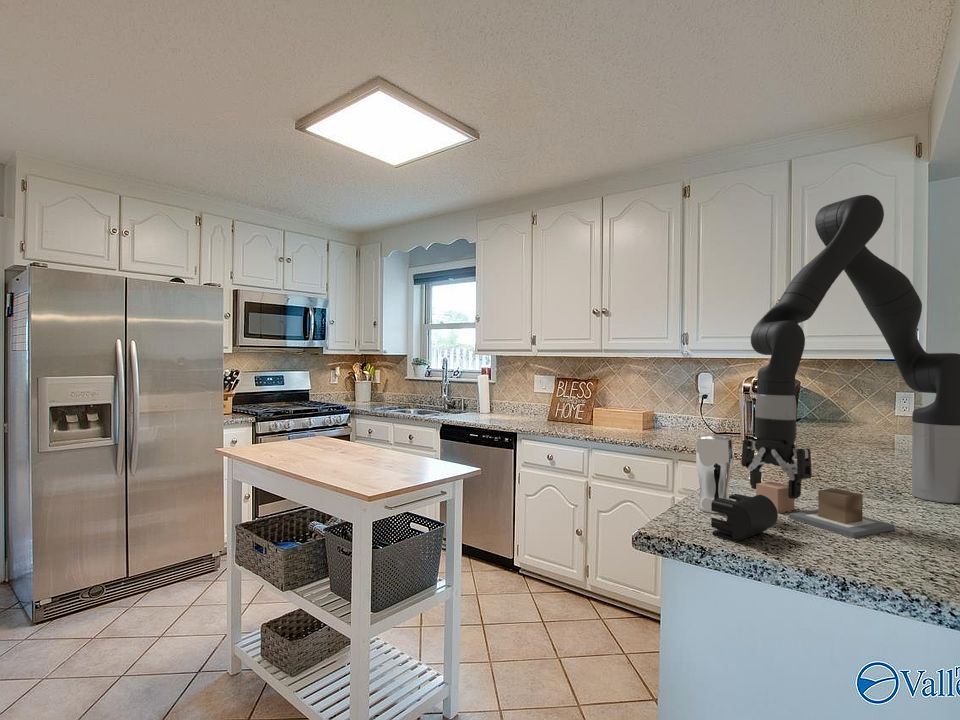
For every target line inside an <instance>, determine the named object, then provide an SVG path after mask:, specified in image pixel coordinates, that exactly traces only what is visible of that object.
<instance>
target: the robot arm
mask: <svg viewBox="0 0 960 720" xmlns="http://www.w3.org/2000/svg"><path fill="white" fill-rule="evenodd" d="M884 211H885V210H884V206H883V205H882V202H881V201H880V200H879V199H878V198H877V197H875V195H874V196H873V195H872V194H871V195H870V194H860V195H856V196H852V197H849V198H846V199H843V200H839V201H836V202H833V203H829V204H827V205H824V206H823V207H821V208H820V209H819V210H818V212H816V213H817V214H816V215H815V218H814V222H815V223H814V225H815V229H816V232H817V236H818V237H819V239H820V241H821V242H822V243H823V244H824V246H825V247H824V249H823V250H821V251H820V252H819V253H818V254H817V255H816V256H815V257H814V258H813V259H811V260H809V262H808V263H807V264H805V266H804V267H802V268H801V269H800V270H799V271H798V272H797V273H796V275H794V277H793V278H792V279H791V281H790V283H789V284H788V285H787V287H786V289H785V291H784V292H783V294H782V295H781V297H780V298H779V301H778V302H776V304H774V305H773V307H771V308H770V309H769V310H768V311H767V312H766V313H765V314H764V315H763V316H762V317H761V318H760V320H758V322H757V323H756V325H755V326H754V327H753V330H752V332H751V334H750V345H751V347H752V349H753V350H754V351H755V352H756V353H758V354H760V355H763V356H770V360H769V363H768V364H767V365H766V366H763V367H761V368H760V369H758V372H757V376H756V377H757V378H756V398H755V399H756V400H755V404H754V406H755V407H754V408H755V409H754V411H755V412H754V436H755V437H756V440H755V439H743V441H742V447H741V448H742V449H741V462H740V463H741V466H742V467H745V468H747V469H748V471H749V485H750V486H751V489H752V490H756V484H757V483H762V471H761V470H762V468H763V467H764V466H765V465H767V464H768V465H770V464H771V465H773V466H778V467H780V469H781V470H782V471H783V472H785V474H786V475H787V477H788V478H789V479H788V482H787V485H788V497H789V498H791V499H794V500H796V499H798V498H799V497H801V495H802V481H803V480H807V479H812V475H813V474H812V457H811V456H812V454H811V449H810V448H809V447H807V448H803V447H802V448H798V447H797V448H796V446H795V441H796V438H797V402H796V401H797V400H796V375H797V374H798V373H797V372H798V370H799V367H800V363H801V360H802V357H803V355H804V354H803V353H804V350H805V346H806V337H805V333H804V330H803V328H802V327H801V325H800V323H803V322H805V321H806V322H807V320H809V319H811V318H812V316H813V315H814V314H815V312H816V311H817V310H818V307H819V306H820V305H821V303H822V301H823V300H824V298H825V296H826V295H827V293H828V291H829V290H830V289H831V287H832V285H833V284H834V283H835V281H836V280H837V278H838V277H839V276H840V275H841V273H843V272H844V273H845V274H846V276H847V277H848V279H849V280H850V282H851V283H852V285H853V287H854V288H855V290H856V291H857V293H858V295H859V296H860V299H861V301H862V302H863V304H864V306H865V308H866V309H867V311H868V313H869V314H870V316H871V318H872V319H873V321H874V322H875V324H876V325H877V326H878V327H877V328H879V331H880V332H881V334H882V337H883V338H884V340H885V342H886V343H887V345H888V348H889V349H890V352H891V355H892V357H893V358H894V360H895V361H894V362H895V364H896V365H897V367H898V370H899V373H900V375H901V377H902V379H903V380H904V383H906V385H907V386H908V387H909V388H910V389H911V390H912V391H914V392H919V393H924V394H926V393H928V394H936V395H935V399H934V401H933V402H932V403H930V404H928V405H926V406H923V407H920V408H919V407H918V408H916V409H914V410H913V411H912V415H911V416H912V417H911V420H912V422H911V431H912V433H911V434H912V436H911V438H912V439H911V442H912V445H911V454H912V455H911V495H912V496H913V497H915V498H917V499H922V500H925V501H932V502H938V503H945V504H947V503H948V504H960V353H954V352H942V353H941V352H938V353H937V352H936V353H935V352H933V353H931V352H930V353H928V352H926V351H925V350H924V348H923V347H922V345H921V344H920V342H919V339H918V336H917V331H918V330H917V329H918V326H919V322H920V319H921V315H922V312H923V303H922V301H921V298H920V295H918V293H917V291H916V289H915V287H914V286H913V284H912V282H911V280H910V279H909V278H908V277H907V275H906V274H904V273H903V272H902V271H901V270H899V269H898V268H896V267H895V266H893V265H891V264H890V263H888V262H887V261H885V260H883V259H881V258H879V257H878V255H875V254H874V253H873V252H872V251H871V250H870V249H869V248H868V247H867V246H866V245H867V244H868V243H869V241H870V240H871V239H872V238H873V237H874V236H875V235H876V234H877V232H878V231H879V229H880V228H881V226H882V224H883V222H884V218H885V217H884V216H885V212H884ZM755 450H756V451H757V453H755V452H756V451H755ZM755 454H756V455H755ZM794 457H795V458H796V460H795V458H794Z"/></svg>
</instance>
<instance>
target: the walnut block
mask: <svg viewBox="0 0 960 720" xmlns="http://www.w3.org/2000/svg"><path fill="white" fill-rule="evenodd" d="M863 496H864V495H863V493H859V492H858V493H857V492H854V491H848V490H844V489H839V488H828V489H827V488H826V489H822V490H821V489H819V490H818V495H817V498H818V500H817V502H818V503H817V506H818V508H817V510H818V517H822V518H825V519H829V520H833V521H836V522H840V523H843V524H848V523H854V522H860V521H862V518H863V517H864V516H863V513H864V512H863V511H864V510H863V506H864V505H863V501H864V498H863Z"/></svg>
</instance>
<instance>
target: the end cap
mask: <svg viewBox="0 0 960 720" xmlns="http://www.w3.org/2000/svg"><path fill="white" fill-rule="evenodd" d="M711 511H714V512H718V513H722V514H723V515H725V516H726V518H727V519H726V520H723V519H720V518H719V519H718V518H715V517H711V520H710V521H711V523H710V525H711V528H713V529H715V530H713V531H711V532H712V533H711V534H712V536H714V537H718V538H721V539H724V540H728V541H730V540H731V542H735V541H736V542H737V543H738V542H740V541H742V540H745V539H748V538H750V537H753V536H755V535H758V534H760V533H763V532H766V531H768V530H769V529H771V528H772V527H774V526H775V524H777V521H778V518H779V517H778V516H779V513H778V512H777V509H776V506H775V505H774V503H773V502H772V501H771V500H770V499H769V498H767V497H765V496H763V495H757V496H756V495H755V496H749V495H743V494H738V493H733V494H730V495H728V499H723V498H719V499H715V500H713V501H712V504H711Z"/></svg>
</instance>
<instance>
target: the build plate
mask: <svg viewBox="0 0 960 720" xmlns="http://www.w3.org/2000/svg"><path fill="white" fill-rule="evenodd" d="M789 518H791V519H790V520H792V519H794V520H793V521H795V520H797V522H799V521H800V523H802V522H804V523H803V524H805V523H808V524H807V525H809V524H811V525H810V526H812V525H814V526H813V527H815V526H817V527H816V528H819V527H820V528H819V529H822V528H823V529H822V530H825V529H826V531H829V530H830V531H829V532H832V531H833V533H835V532H836V533H837V534H839V535H842V536H845V537H849V538H853V539H854V538H860V537H864V536H868V535H869V536H871V535H875V534H880V533H886V532H891V531H896V530H895V529H896V526H895V524H892V523H888V522H885V521H881V520H879V519H878V520H877V519H873V518H870V517H866V516H863V518H862V521H860V522H854V523H848V524H843V523H840V522H836V521H833V520H829V519H825V518H822V517H818V509H812V510H807V511H806V510H804V511H799V512H792V513H789V514H788V519H789Z"/></svg>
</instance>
